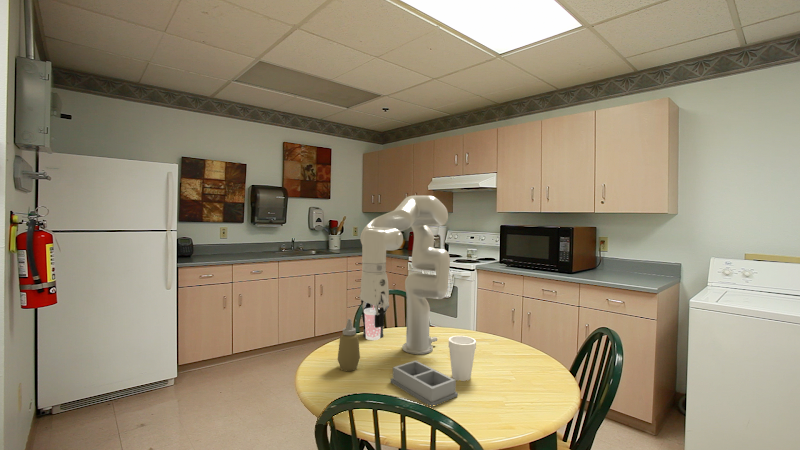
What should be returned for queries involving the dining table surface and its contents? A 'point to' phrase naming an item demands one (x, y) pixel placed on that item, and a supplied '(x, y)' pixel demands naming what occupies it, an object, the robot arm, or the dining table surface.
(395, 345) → the dining table surface
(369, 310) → the beverage cup
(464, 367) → the foam cup
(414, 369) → the compartment organizer caddy
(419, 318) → the robot arm
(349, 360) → the squeeze bottle
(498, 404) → the dining table surface
